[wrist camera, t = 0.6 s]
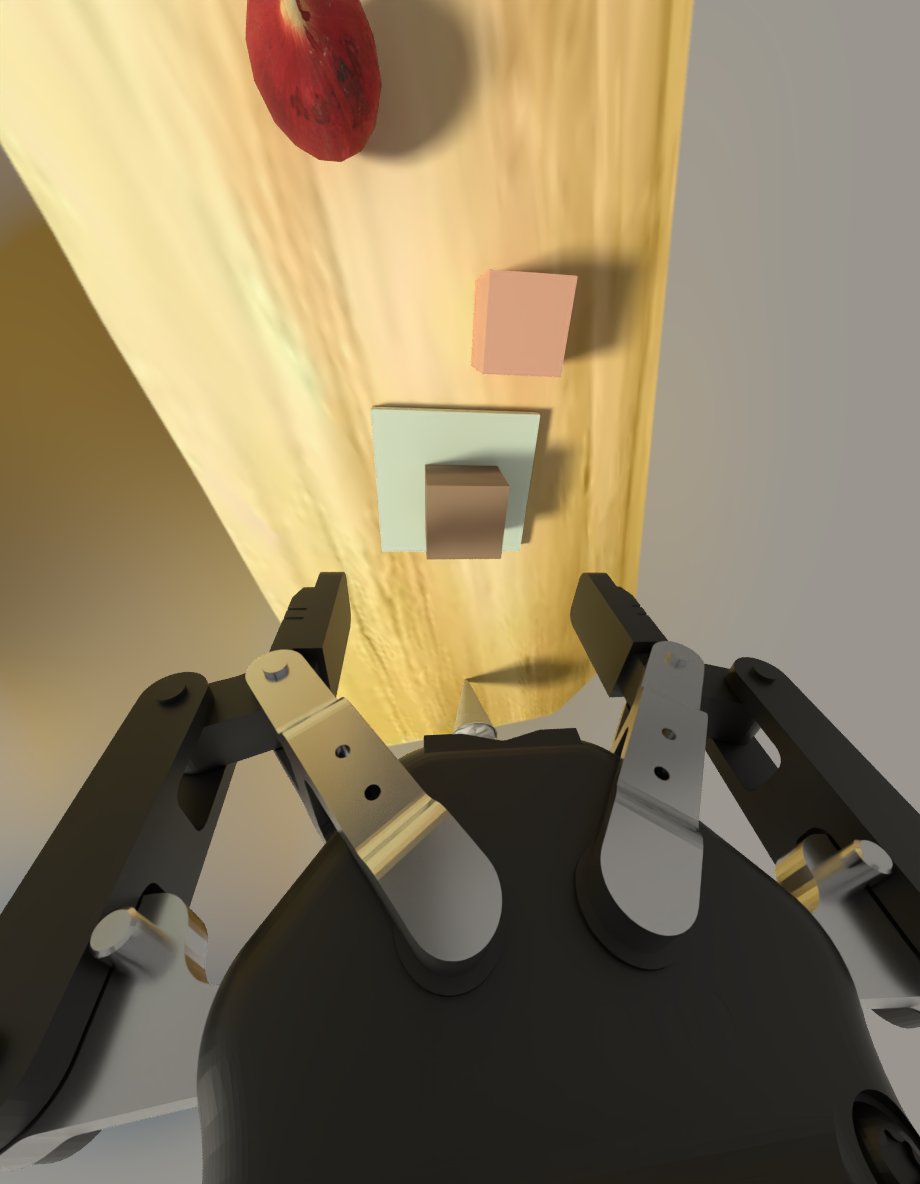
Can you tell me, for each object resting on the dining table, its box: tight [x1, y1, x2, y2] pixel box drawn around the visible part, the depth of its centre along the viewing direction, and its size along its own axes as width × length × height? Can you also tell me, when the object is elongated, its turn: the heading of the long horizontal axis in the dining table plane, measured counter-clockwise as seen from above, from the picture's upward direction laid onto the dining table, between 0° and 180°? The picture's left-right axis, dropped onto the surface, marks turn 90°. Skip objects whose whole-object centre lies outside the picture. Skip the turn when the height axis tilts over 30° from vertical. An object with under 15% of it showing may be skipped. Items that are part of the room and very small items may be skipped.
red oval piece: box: [246, 0, 381, 162], centre depth 18 cm, size 6×6×8 cm
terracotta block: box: [471, 269, 578, 377], centre depth 25 cm, size 5×5×6 cm
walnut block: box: [425, 465, 510, 559], centre depth 31 cm, size 6×6×5 cm
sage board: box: [371, 406, 540, 552], centre depth 33 cm, size 12×13×1 cm
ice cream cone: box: [453, 679, 497, 740], centre depth 42 cm, size 5×5×15 cm
